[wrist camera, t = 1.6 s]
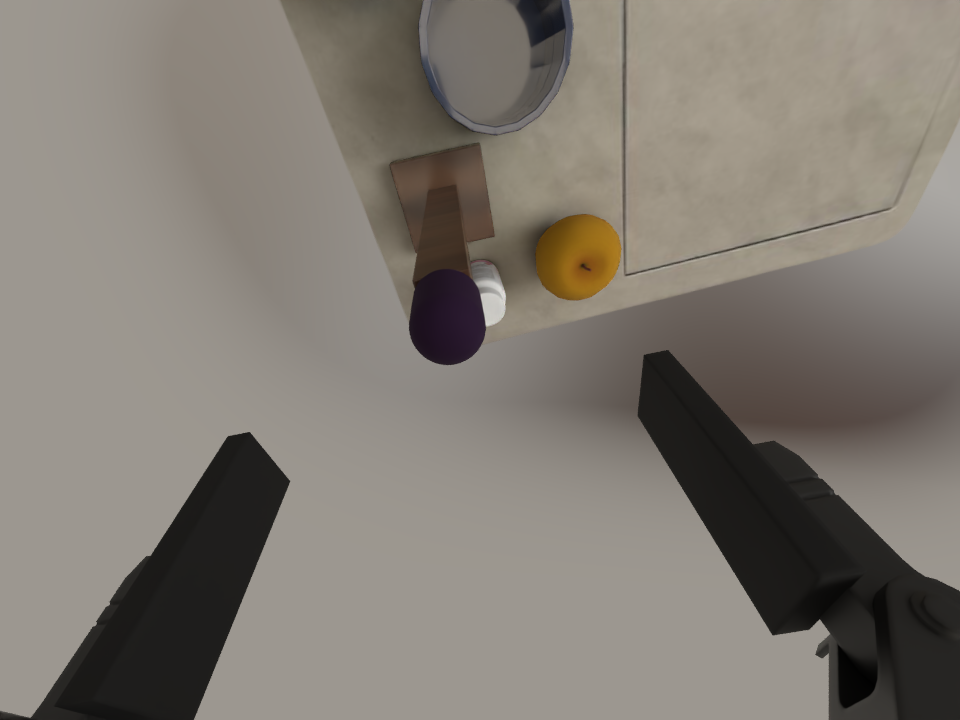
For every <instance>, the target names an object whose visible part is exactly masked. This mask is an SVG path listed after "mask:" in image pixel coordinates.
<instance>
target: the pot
mask: <svg viewBox="0 0 960 720" xmlns="http://www.w3.org/2000/svg"><path fill="white" fill-rule="evenodd" d="M418 31H419V43H420V56H421V63H422V66H423V69H424V72H425V74H426V77H427V80H428V83H429V85H430V88H431V91H432V93H433V95H434V96H435V97H436V99H437V100H438V101H439V103H440V104H441V105H442V107H443V108H444V109H445V111H446V112H447V113H448V115H449V116H450V117H451V118H453V119H454V120H456V121H457V122H459V123H460V124H462V125H463V126H465V127H466V128H468V129H469V130H471V131H474V132H479V133H484V134H490V135H500V134H505V133H509V132H514V131H518V130H520V129H522V128H523V127H525V126H526V125H527V124H529V123H530V122H532V121H533V120H535V119H536V118H538V117H539V116H540V115H541V114H542V113H543V112H544V110H545V109H546V108H547V106H548V105H549V104H550V102H551V101H552V100H553V98H554V97H555V96H556V94H557V93H558V91H559V89H560V86H561V84H562V81H563V78H564V76H565V73H566V70H567V68H568V65H569V61H570V56H571V46H572V37H573V19H572V13H571V7H570V0H423V3H422V8H421V13H420V19H419V24H418Z"/></svg>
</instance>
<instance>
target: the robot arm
mask: <svg viewBox="0 0 960 720" xmlns="http://www.w3.org/2000/svg"><path fill="white" fill-rule="evenodd" d="M638 417H639V419H640V420H641V422H642V424H643V425H644V427H645V429H646V430H647V432H648V433H649V435H650V437H651V438H652V440H653V442H654V443H655V445H656V446H657V448H658V450H659V451H660V453H661V455H662V456H663V458H664V459H665V461H666V463H667V464H668V466H669V468H670V469H671V471H672V472H673V474H674V476H675V477H676V479H677V481H678V482H679V484H680V485H681V487H682V489H683V490H684V492H685V494H686V495H687V497H688V498H689V500H690V501H691V503H692V505H693V507H694V508H695V510H696V511H697V513H698V515H699V516H700V518H701V520H702V521H703V523H704V524H705V526H706V528H707V529H708V531H709V532H710V534H711V536H712V537H713V539H714V541H715V542H716V544H717V545H718V547H719V549H720V551H721V552H722V554H723V555H724V557H725V559H726V560H727V562H728V564H729V565H730V567H731V568H732V570H733V572H734V573H735V575H736V576H737V578H738V580H739V581H740V583H741V585H742V586H743V588H744V590H745V591H746V593H747V594H748V596H749V598H750V599H751V601H752V602H753V604H754V606H755V607H756V609H757V611H758V612H759V614H760V616H761V617H762V619H763V620H764V622H765V624H766V625H767V627H768V628H769V630H770V632H771V633H772V635H778V634H784V633H791V632H797V631H803V630H809V629H810V628H811V627H812V626H813V625H814V624H815V623H816V622H817V621H818V620H819V619H820V620H821V621H822V623H823V624H824V625H825V627H826V628H827V630H828V631H829V632H830V635H829V636H828V637H827V638H826V639H825V640H824V641H822V642H821V643H820V644H819V645H818V648H817V651H816V655H817V656H819V657H820V658H823V657H825V656H826V655H827V654H828V653H829V720H960V591H959V590H956V589H955V588H953V587H950V586H948V585H946V584H944V583H942V582H940V581H938V580H936V579H932V578H929V577H925V576H923V575H922V574H920V573H918V572H917V571H916V570H914V569H913V568H912V567H911V566H910V565H909V564H907V563H906V562H905V561H904V560H902V558H901V557H900V556H899V555H898V554H897V553H896V552H895V551H894V550H893V549H892V548H891V547H890V546H889V545H888V544H887V543H886V542H884V541H883V539H882V538H881V537H879V535H878V534H877V533H876V532H874V530H873V529H871V527H870V526H869V525H868V524H867V523H866V522H865V521H864V520H863V519H862V518H861V517H860V516H859V515H858V514H857V513H855V512H854V510H853V509H852V508H851V507H850V506H849V505H848V504H846V502H845V501H844V500H842V499H841V497H840V496H839V495H835V493H834V490H833V489H831V487H830V486H829V485H827V483H826V482H824V480H823V479H820V478H819V477H818V474H817V473H816V472H815V471H814V470H812V468H810V466H808V464H806V462H805V461H804V460H803V459H802V458H801V457H800V456H798V455H797V454H795V453H794V452H792V451H790V450H788V449H787V448H785V447H784V446H782V445H780V444H779V443H777V442H775V441H770V442H764V443H759V444H752V443H751V442H750V441H749V440H748V439H747V437H746V436H745V435H744V434H743V433H742V432H741V431H740V430H739V429H738V427H737V426H736V425H735V424H734V423H733V422H732V421H731V420H730V419H729V417H728V416H727V415H726V414H725V413H724V412H723V411H722V410H721V408H720V407H718V405H717V404H716V403H715V402H714V401H713V400H712V398H711V397H710V396H709V395H708V394H707V393H706V392H705V391H704V390H703V389H702V387H701V386H700V385H699V384H698V383H697V382H696V381H695V380H694V379H693V377H692V376H691V375H690V374H689V373H688V372H687V371H686V370H685V368H684V367H683V366H682V365H681V364H680V363H679V362H678V361H677V360H676V358H675V357H674V356H673V355H672V354H671V353H670V352H669V351H668V350H666V351H661V352H656V353H651V354H646V355H644V359H643V368H642V378H641V388H640V397H639V407H638ZM289 483H290V480H289V479H288V478H287V477H286V476H285V474H284V473H283V472H282V471H281V470H280V468H279V467H278V466H277V465H276V463H275V462H274V461H273V460H272V459H271V457H270V456H269V455H268V454H267V452H266V451H265V450H264V449H263V448H262V446H261V445H260V444H259V443H258V442H257V441H256V439H255V438H254V437H253V435H252V434H251V433H250V432H247V433H242V434H238V435H232V436H228V437H227V438H226V440H225V441H224V443H223V445H222V446H221V448H220V449H219V451H218V452H217V454H216V455H215V457H214V459H213V460H212V462H211V463H210V465H209V466H208V468H207V469H206V471H205V472H204V474H203V476H202V477H201V479H200V480H199V482H198V483H197V485H196V486H195V488H194V490H193V491H192V493H191V494H190V496H189V497H188V499H187V500H186V502H185V504H184V505H183V507H182V508H181V510H180V511H179V513H178V514H177V516H176V517H175V519H174V521H173V522H172V524H171V525H170V527H169V528H168V530H167V531H166V533H165V534H164V536H163V538H162V539H161V541H160V542H159V544H158V545H157V547H156V548H155V550H154V552H153V553H152V555H151V556H146V557H145V558H144V559H143V560H142V561H141V562H140V563H139V565H137V567H136V568H135V569H134V570H133V571H132V572H131V573H130V574H129V575H128V576H127V577H126V578H125V580H124V581H123V583H122V584H121V585H120V587H119V588H118V590H117V591H116V593H115V594H114V596H113V597H112V599H111V601H110V605H109V606H107V607H106V608H105V610H104V611H103V612H102V614H101V615H100V617H99V618H98V620H97V621H96V622H97V625H96V626H94V627H92V629H91V631H90V632H89V633H88V635H87V636H86V638H85V639H84V641H83V643H82V644H81V646H80V647H79V648H78V650H77V651H76V653H75V654H74V656H73V657H72V659H71V660H70V662H69V663H68V665H67V666H66V668H65V669H64V671H63V672H62V674H61V675H60V677H59V678H58V680H57V681H56V683H55V684H54V686H53V687H52V689H51V690H50V692H49V693H48V695H47V696H46V698H45V699H44V701H43V702H42V704H41V705H40V706H39V708H38V709H37V710H36V712H35V713H34V714H33V716H32V717H31V718H28V717H24V716H19V715H15V714H11V713H7V712H2V711H0V720H194V718H195V715H196V713H197V711H198V708H199V706H200V703H201V701H202V698H203V696H204V693H205V691H206V688H207V686H208V683H209V681H210V678H211V676H212V674H213V671H214V669H215V666H216V663H217V661H218V658H219V656H220V654H221V651H222V649H223V646H224V644H225V641H226V639H227V636H228V634H229V632H230V629H231V627H232V624H233V622H234V619H235V617H236V614H237V612H238V609H239V607H240V604H241V602H242V599H243V597H244V594H245V592H246V589H247V587H248V584H249V582H250V579H251V577H252V574H253V572H254V570H255V567H256V565H257V562H258V560H259V557H260V555H261V552H262V550H263V547H264V545H265V542H266V540H267V538H268V535H269V533H270V530H271V528H272V525H273V522H274V520H275V518H276V515H277V513H278V510H279V507H280V505H281V503H282V500H283V498H284V496H285V493H286V491H287V488H288V486H289Z"/></svg>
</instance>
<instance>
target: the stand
mask: <svg viewBox="0 0 960 720" xmlns="http://www.w3.org/2000/svg"><path fill="white" fill-rule="evenodd" d="M390 168H391V172H392V175H393V179H394V182H395V185H396V189H397V192H398V195H399V199H400V202H401V205H402V209H403V212H404V215H405V219H406V222H407V226H408V229H409V232H410V236H411V239H412V242H413V246H414V249H415V252H416V253H417V257H416V263H415V269H414V275H413V284H414V288H416V286H417V284H418V283H419V281H420V280H421V279H422V278H423V277H424V276H426V275H427V274H429V273H431V272H433V271H436V270H440V269H453V270H457V271H460V272H462V273H464V274H466V275H468V276H469V277H470V278H471V279H472V280H473V275H472V269H471V263H470V257H469V251H468V245H467V242H471V241H476V240H481V239H486V238H490V237H494V236H495V235H494V229H493V223H492V216H491V210H490V204H489V198H488V191H487V185H486V179H485V173H484V166H483V160H482V154H481V148H480V144H479V143H475V144H471V145H466V146H462V147H457V148H453V149H448V150H444V151H440V152H435V153H431V154H426V155H422V156H417V157H413V158H408V159H404V160H400V161H395V162H391V163H390Z"/></svg>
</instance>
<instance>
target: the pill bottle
mask: <svg viewBox="0 0 960 720" xmlns="http://www.w3.org/2000/svg"><path fill="white" fill-rule="evenodd" d="M470 263H471V269H472V275H473V281H474V282H475V283H476V285H477V287H478V289H479V291H480V295H481V301H482V306H483V311H484V316H485V323H486V326H491V325H494V324H496V323H498V322H499V321H500V320H501V319H502V317H503V316H504V313H505V301H506V295H505V291H504V287H503V284H502V281H501V278H500V275H499V272H498V270H497V268H496V267H495V266H494V265H493V264H492V263H491V262H489V261H486V260H475V261H472V262H470Z"/></svg>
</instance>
